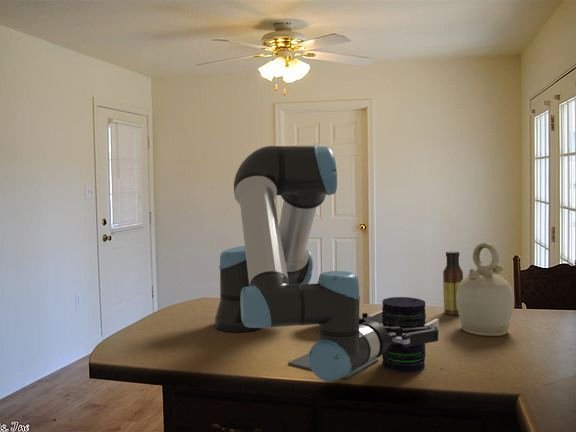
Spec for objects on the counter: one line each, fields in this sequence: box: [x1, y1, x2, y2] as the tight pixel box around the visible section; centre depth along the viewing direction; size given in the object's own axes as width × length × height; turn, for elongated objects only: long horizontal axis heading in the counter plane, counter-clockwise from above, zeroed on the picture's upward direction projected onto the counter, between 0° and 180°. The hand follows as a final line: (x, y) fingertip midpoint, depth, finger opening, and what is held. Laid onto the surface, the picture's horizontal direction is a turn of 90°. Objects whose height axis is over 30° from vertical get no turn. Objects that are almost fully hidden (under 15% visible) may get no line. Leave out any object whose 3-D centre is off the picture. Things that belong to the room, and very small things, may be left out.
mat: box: [287, 352, 379, 380], centre depth 128 cm, size 16×14×1 cm
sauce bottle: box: [442, 250, 464, 316], centre depth 173 cm, size 7×6×20 cm
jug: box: [456, 242, 515, 337], centre depth 153 cm, size 15×16×25 cm
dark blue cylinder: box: [381, 296, 427, 374], centre depth 125 cm, size 10×10×15 cm
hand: (409, 320), depth 127 cm, fingers open, 13 cm apart
